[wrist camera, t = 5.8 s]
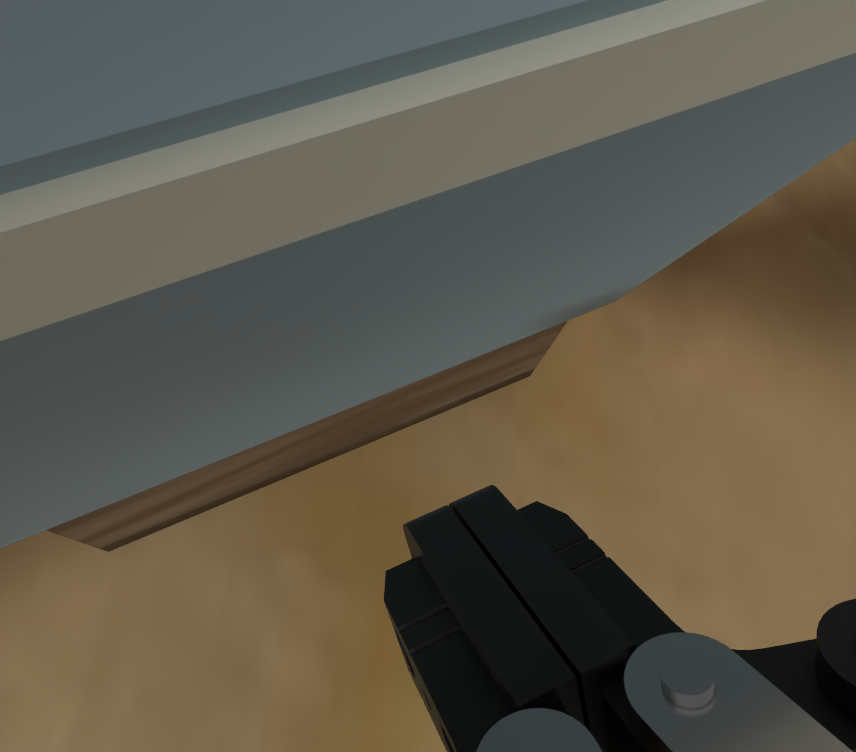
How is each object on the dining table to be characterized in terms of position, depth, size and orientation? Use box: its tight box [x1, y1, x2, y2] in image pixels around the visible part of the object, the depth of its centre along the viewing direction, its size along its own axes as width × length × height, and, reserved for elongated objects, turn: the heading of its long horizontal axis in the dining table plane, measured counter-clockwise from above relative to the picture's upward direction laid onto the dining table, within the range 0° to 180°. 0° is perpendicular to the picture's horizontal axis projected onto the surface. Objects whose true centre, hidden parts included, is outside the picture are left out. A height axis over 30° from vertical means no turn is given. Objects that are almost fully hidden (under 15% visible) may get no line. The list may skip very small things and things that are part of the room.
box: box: [47, 321, 567, 552], centre depth 26 cm, size 16×18×9 cm
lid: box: [0, 0, 856, 548], centre depth 12 cm, size 16×18×1 cm
